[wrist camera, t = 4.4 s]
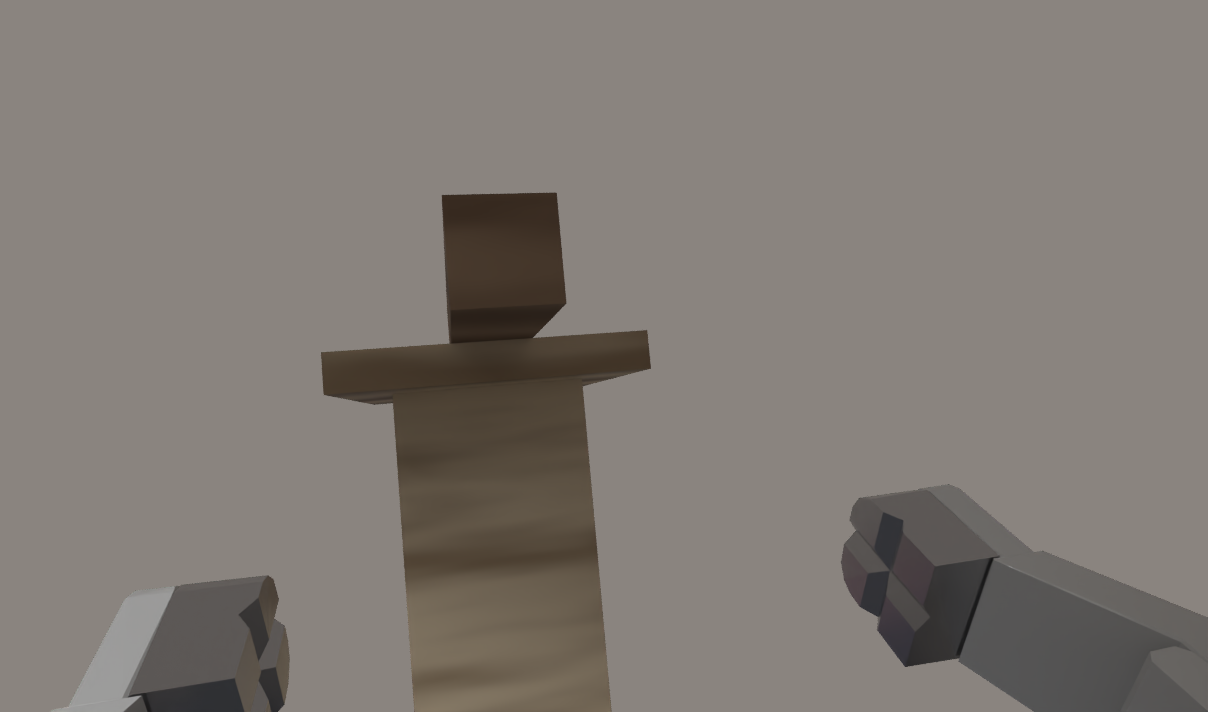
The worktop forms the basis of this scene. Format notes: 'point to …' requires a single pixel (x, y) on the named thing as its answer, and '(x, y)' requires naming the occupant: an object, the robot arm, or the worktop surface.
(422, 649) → the stand
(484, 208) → the block
